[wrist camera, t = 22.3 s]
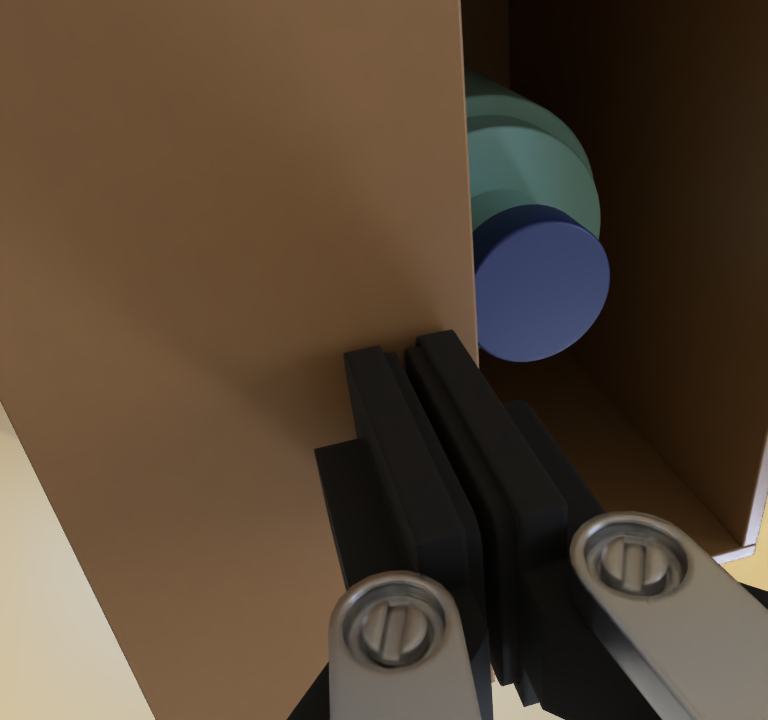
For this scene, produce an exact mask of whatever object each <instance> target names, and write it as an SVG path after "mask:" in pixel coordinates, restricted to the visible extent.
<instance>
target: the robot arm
mask: <svg viewBox="0 0 768 720" xmlns="http://www.w3.org/2000/svg"><path fill="white" fill-rule="evenodd" d="M415 346H416V347H412V348H408V349H405V364H406V372H407V374H406V372H405V370H404V368H403V366H402V364H401V362H400V360H399V358H398V356H397V354H396V352H390V353H385V354H383V351H382V349H381V347H380V346H379V345H378V346H373V347H368V348H364V349H359V350H355V351H350V352H346V353H344V354H343V357H344V365H345V371H346V377H347V383H348V389H349V394H350V400H351V406H352V412H353V418H354V424H355V430H356V436H357V439H354V440H349V441H345V442H341V443H337V444H333V445H328V446H324V447H320V448H316V449H314V453H315V458H316V463H317V468H318V472H319V477H320V482H321V486H322V491H323V496H324V500H325V505H326V509H327V513H328V518H329V522H330V527H331V531H332V535H333V539H334V543H335V548H336V552H337V556H338V560H339V564H340V568H341V572H342V576H343V580H344V584H345V588H346V592H345V593H344V594H343V595H342V596H341V597H340V598H339V600H338V602H337V604H336V606H335V607H334V609H333V611H332V613H331V616H330V622H329V629H328V651H329V662H328V663H327V664H326V666H325V667H324V668H323V670H322V671H321V673H320V674H319V675H318V677H317V678H316V679H315V681H314V682H313V684H312V685H311V686H310V688H309V689H308V691H307V692H306V693H305V695H304V696H303V697H302V699H301V700H300V702H299V703H298V704H297V706H296V707H295V708H294V710H293V711H292V713H291V714H290V715H289V717H288V718H287V720H493V704H492V687H491V669H490V663H491V665H492V668H493V670H494V673H495V675H496V677H497V679H498V681H499V683H500V685H501V686H505V685H508V684H512V683H514V685H515V688H516V690H517V692H518V694H519V697H520V699H521V701H522V703H523V706H524V707H526V706H529V705H533V704H536V703H539V702H540V705H541V707H542V709H543V710H545V711H547V712H549V713H552V714H554V715H556V716H558V717H561V718H563V719H565V720H768V591H764V590H761V589H758V588H755V587H752V586H749V585H746V584H743V583H740V582H738V581H736V580H735V579H734V578H733V577H732V576H731V575H730V574H729V573H728V572H727V571H726V570H725V569H724V568H723V567H721V566H720V565H719V564H718V563H717V562H716V561H715V560H714V559H713V558H712V557H711V556H710V555H709V554H708V553H707V552H705V551H704V550H703V549H702V548H701V547H700V546H699V545H698V544H697V543H696V542H695V541H694V540H693V539H692V538H691V537H689V536H688V535H687V534H686V533H685V532H683V531H682V530H681V529H679V528H678V527H677V526H675V525H674V524H672V523H671V522H669V521H666V520H664V519H662V518H659V517H657V516H655V515H652V514H647V513H642V512H637V511H612V512H608V513H606V512H605V510H604V509H603V508H602V506H601V505H600V503H599V502H598V501H597V499H596V498H595V496H594V495H593V494H592V492H591V491H590V489H589V488H588V487H587V485H586V484H585V482H584V481H583V480H582V478H581V477H580V475H579V474H578V472H577V471H576V470H575V468H574V467H573V465H572V464H571V463H570V461H569V460H568V458H567V457H566V456H565V454H564V453H563V451H562V450H561V449H560V447H559V446H558V444H557V443H556V442H555V440H554V439H553V437H552V436H551V435H550V433H549V432H548V430H547V429H546V427H545V426H544V425H543V423H542V422H541V420H540V419H539V418H538V416H537V415H536V413H535V412H534V411H533V409H532V408H531V407H530V405H529V404H528V403H527V402H526V401H524V400H517V401H513V402H509V403H505V404H502V403H501V401H500V400H499V398H498V397H497V395H496V394H495V392H494V391H493V389H492V388H491V386H490V385H489V383H488V382H487V380H486V379H485V377H484V376H483V374H482V373H481V371H480V369H479V368H478V366H477V365H476V363H475V362H474V360H473V359H472V357H471V356H470V354H469V353H468V351H467V350H466V348H465V347H464V345H463V344H462V342H461V341H460V339H459V338H458V336H457V334H456V333H455V332H454V331H453V330H452V329H450V330H445V331H441V332H436V333H432V334H427V335H423V336H418V337H417V338H416V342H415Z"/></svg>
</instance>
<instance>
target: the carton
mask: <svg viewBox="0 0 768 720" xmlns="http://www.w3.org/2000/svg"><path fill="white" fill-rule="evenodd" d="M461 17H462V37H463V57H464V66H466V67H468V68H470V69H472V70H474V71H476V72H477V73H479V74H481V75H483V76H485V77H487V78H489V79H491V80H493V81H495V82H496V83H498V84H500V85H502V86H504V87H506V88H508V89H510V90H512V91H514V92H515V93H517V94H519V95H521V96H523V97H525V98H527V99H529V100H531V101H533V102H534V103H536V104H538V105H540V106H542V107H544V108H545V109H547V110H549V111H551V112H552V113H553V114H555V115H556V116H557V117H558V118H560V119H561V120H562V121H563V122H564V123H565V124H566V125H567V126H568V127H569V128H570V129H571V130H572V131H573V133H574V134H575V136H576V137H577V139H578V140H579V142H580V143H581V145H582V147H583V149H584V151H585V153H586V155H587V157H588V160H589V163H590V166H591V170H592V173H593V179H594V183H595V187H596V190H597V193H598V198H599V204H600V222H601V224H600V233H599V242H600V243H601V244H602V246H603V248H604V250H605V252H606V255H607V258H608V262H609V268H610V283H609V290H608V294H607V298H606V300H605V303H604V306H603V308H602V310H601V312H600V314H599V315H598V317H597V318H596V320H595V321H594V323H593V324H592V325H591V327H590V328H589V329H588V330H587V331H586V332H585V333H584V334H583V335H582V336H581V337H580V338H579V339H578V340H577V341H576V342H574V343H573V344H572V345H570V346H569V347H567V348H566V349H564V350H562V351H561V352H559V353H557V354H555V355H552V356H550V357H547V358H544V359H540V360H536V361H530V362H512V361H507V360H503V359H500V358H497V357H494V356H492V355H491V354H489V353H487V352H486V351H484V350H483V349H482V348H478V354H479V369H480V371H481V373H482V374H483V376H484V377H485V379H486V380H487V382H488V383H489V385H490V386H491V388H492V389H493V391H494V392H495V394H496V395H497V397H498V398H499V400H500V401H501V403H502V404H505V403H509V402H513V401H517V400H524V401H526V402H527V403H528V404H529V405H530V407H531V408H532V409H533V411H534V412H535V413H536V415H537V416H538V418H539V419H540V420H541V422H542V423H543V425H544V426H545V427H546V429H547V430H548V432H549V433H550V435H551V436H552V437H553V439H554V440H555V442H556V443H557V444H558V446H559V447H560V449H561V450H562V451H563V453H564V454H565V456H566V457H567V458H568V460H569V461H570V463H571V464H572V465H573V467H574V468H575V470H576V471H577V472H578V474H579V475H580V477H581V478H582V480H583V481H584V482H585V484H586V485H587V487H588V488H589V489H590V491H591V492H592V494H593V495H594V496H595V498H596V499H597V501H598V502H599V503H600V505H601V506H602V508H603V509H604V510H605V512H606V513H608V512H612V511H637V512H642V513H647V514H652V515H655V516H657V517H659V518H662V519H664V520H666V521H669V522H671V523H672V524H674V525H675V526H677V527H678V528H679V529H681V530H682V531H683V532H685V533H686V534H687V535H688V536H689V537H691V538H692V539H693V540H694V541H695V542H696V543H697V544H698V545H699V546H700V547H701V548H702V549H703V550H704V551H705V552H707V553H708V554H709V555H710V556H711V557H712V558H713V559H714V560H715V561H716V562H717V563H718V564H719V565H720V564H723V563H727V562H730V561H734V560H737V559H741V558H744V557H748V556H751V555H753V554H754V552H755V548H756V542H757V539H758V535H759V531H760V526H761V522H762V517H763V513H764V509H765V504H766V500H767V496H768V0H461Z"/></svg>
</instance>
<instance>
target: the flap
mask: <svg viewBox="0 0 768 720" xmlns="http://www.w3.org/2000/svg"><path fill="white" fill-rule="evenodd" d="M450 329H452V330H453V331H454V332H455V333H456V334H457V336H458V338H459V339H460V341H461V342H462V344H463V345H464V347H465V348H466V350H467V351H468V353H469V354H470V356H471V357H472V359H473V360H474V362H475V363H476V365H477V366H478V368H479V354H478V334H477V314H476V294H475V274H474V255H473V235H472V215H471V195H470V175H469V156H468V136H467V116H466V96H465V76H464V57H463V37H462V17H461V0H0V401H1V403H2V405H3V407H4V409H5V412H6V414H7V416H8V418H9V420H10V422H11V424H12V426H13V428H14V430H15V432H16V434H17V436H18V438H19V440H20V442H21V444H22V446H23V448H24V451H25V453H26V454H27V457H28V459H29V461H30V463H31V465H32V467H33V469H34V471H35V473H36V475H37V477H38V479H39V481H40V483H41V485H42V487H43V489H44V492H45V493H46V496H47V498H48V500H49V502H50V504H51V506H52V508H53V510H54V512H55V514H56V516H57V518H58V520H59V522H60V524H61V526H62V529H63V531H64V533H65V535H66V537H67V538H68V541H69V543H70V545H71V547H72V549H73V551H74V553H75V555H76V557H77V559H78V561H79V563H80V565H81V567H82V570H83V572H84V574H85V576H86V578H87V580H88V582H89V584H90V586H91V588H92V590H93V592H94V594H95V596H96V598H97V600H98V602H99V604H100V607H101V608H102V611H103V613H104V615H105V617H106V619H107V621H108V623H109V625H110V627H111V629H112V631H113V633H114V635H115V637H116V639H117V641H118V643H119V646H120V648H121V650H122V652H123V654H124V656H125V658H126V660H127V662H128V664H129V666H130V668H131V670H132V672H133V674H134V676H135V678H136V680H137V682H138V684H139V687H140V688H141V691H142V693H143V695H144V697H145V699H146V701H147V703H148V705H149V707H150V709H151V711H152V713H153V715H154V717H155V719H156V720H287V718H288V717H289V715H290V714H291V713H292V711H293V710H294V708H295V707H296V706H297V704H298V703H299V702H300V700H301V699H302V697H303V696H304V695H305V693H306V692H307V691H308V689H309V688H310V686H311V685H312V684H313V682H314V681H315V679H316V678H317V677H318V675H319V674H320V673H321V671H322V670H323V668H324V667H325V666H326V664H327V663H328V662H329V651H328V629H329V622H330V616H331V613H332V611H333V609H334V607H335V606H336V604H337V602H338V600H339V598H340V597H341V596H342V595H343V594H344V593H345V592H346V588H345V584H344V580H343V576H342V572H341V568H340V564H339V560H338V556H337V552H336V548H335V543H334V539H333V535H332V531H331V527H330V522H329V518H328V513H327V509H326V505H325V500H324V496H323V491H322V486H321V482H320V477H319V472H318V468H317V463H316V458H315V453H314V449H316V448H320V447H324V446H328V445H333V444H337V443H341V442H345V441H349V440H354V439H357V436H356V430H355V424H354V418H353V412H352V406H351V400H350V394H349V389H348V383H347V377H346V371H345V365H344V357H343V354H344V353H346V352H350V351H355V350H359V349H364V348H368V347H373V346H378V345H379V346H380V347H381V349H382V351H383V354H385V353H390V352H396V354H397V356H398V358H399V360H400V362H401V364H402V366H403V368H404V370H405V372H406V364H405V349H408V348H412V347H416V346H415V342H416V338H417V337H418V336H423V335H427V334H432V333H436V332H441V331H445V330H450ZM406 374H407V372H406ZM490 669H491V683H492V682H494V681H495V673H494V670H493V668H492V665H491V663H490Z"/></svg>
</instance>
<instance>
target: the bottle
mask: <svg viewBox="0 0 768 720" xmlns="http://www.w3.org/2000/svg"><path fill="white" fill-rule="evenodd" d="M464 76H465V96H466V116H467V136H468V156H469V175H470V195H471V215H472V235H473V255H474V274H475V294H476V314H477V334H478V348H482V349H483V350H484V351H486V352H487V353H489V354H491V355H492V356H494V357H497V358H500V359H503V360H507V361H512V362H530V361H536V360H540V359H544V358H547V357H550V356H552V355H555V354H557V353H559V352H561V351H562V350H564V349H566V348H567V347H569V346H570V345H572V344H573V343H574V342H576V341H577V340H578V339H579V338H580V337H581V336H582V335H583V334H584V333H585V332H586V331H587V330H588V329H589V328H590V327H591V325H592V324H593V323H594V321H595V320H596V318H597V317H598V315H599V314H600V312H601V310H602V308H603V306H604V303H605V300H606V298H607V294H608V290H609V283H610V268H609V262H608V258H607V255H606V252H605V250H604V248H603V246H602V244H601V243H600V242H599V233H600V224H601V222H600V204H599V198H598V193H597V190H596V187H595V183H594V179H593V173H592V170H591V166H590V163H589V160H588V157H587V155H586V153H585V151H584V149H583V147H582V145H581V143H580V142H579V140H578V139H577V137H576V136H575V134H574V133H573V131H572V130H571V129H570V128H569V127H568V126H567V125H566V124H565V123H564V122H563V121H562V120H561V119H560V118H558V117H557V116H556V115H555V114H553V113H552V112H551V111H549V110H547V109H545V108H544V107H542V106H540V105H538V104H536V103H534V102H533V101H531V100H529V99H527V98H525V97H523V96H521V95H519V94H517V93H515V92H514V91H512V90H510V89H508V88H506V87H504V86H502V85H500V84H498V83H496V82H495V81H493V80H491V79H489V78H487V77H485V76H483V75H481V74H479V73H477V72H476V71H474V70H472V69H470V68H468V67H466V66H464Z"/></svg>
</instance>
